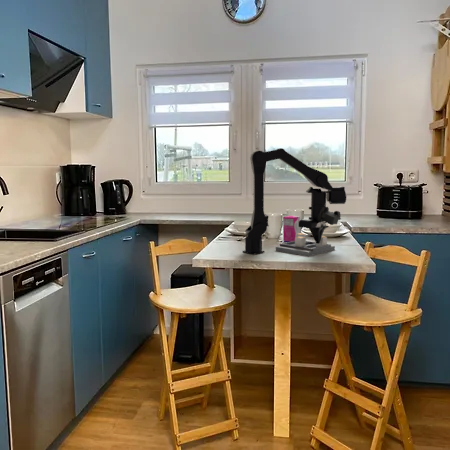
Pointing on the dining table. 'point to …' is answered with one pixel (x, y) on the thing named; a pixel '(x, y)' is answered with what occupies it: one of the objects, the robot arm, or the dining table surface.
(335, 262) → the dining table surface
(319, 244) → the switch tab
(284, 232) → the supplement box
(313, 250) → the switch bank
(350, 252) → the dining table surface
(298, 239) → the switch tab
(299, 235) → the switch tab
